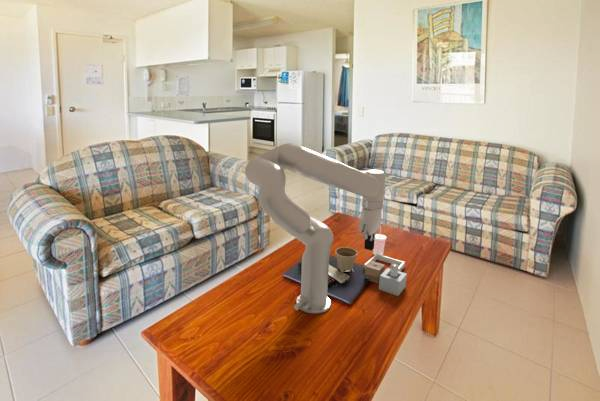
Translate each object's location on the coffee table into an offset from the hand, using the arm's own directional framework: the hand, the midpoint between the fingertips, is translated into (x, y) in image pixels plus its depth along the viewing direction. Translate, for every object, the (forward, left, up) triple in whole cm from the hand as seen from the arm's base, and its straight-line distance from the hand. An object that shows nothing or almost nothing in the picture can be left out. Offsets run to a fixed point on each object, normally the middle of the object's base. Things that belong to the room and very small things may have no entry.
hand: (369, 248), depth 140 cm
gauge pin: (+6, -9, -17) cm, 20 cm away
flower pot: (+8, +13, -17) cm, 23 cm away
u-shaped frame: (+20, 0, -17) cm, 26 cm away
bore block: (+6, -9, -17) cm, 20 cm away
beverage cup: (+32, +8, -17) cm, 37 cm away
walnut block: (+9, 0, -17) cm, 19 cm away
